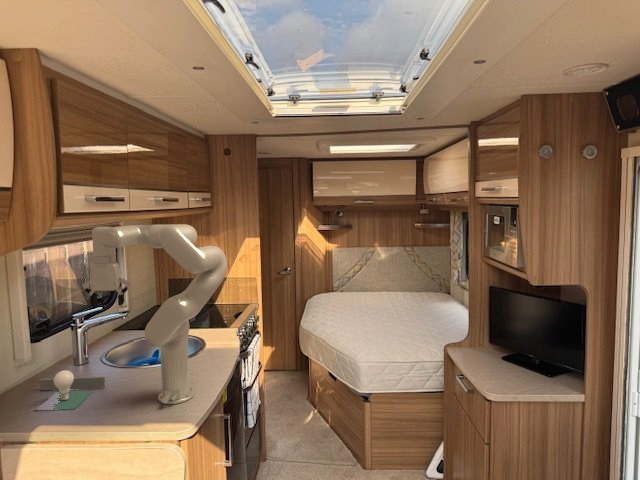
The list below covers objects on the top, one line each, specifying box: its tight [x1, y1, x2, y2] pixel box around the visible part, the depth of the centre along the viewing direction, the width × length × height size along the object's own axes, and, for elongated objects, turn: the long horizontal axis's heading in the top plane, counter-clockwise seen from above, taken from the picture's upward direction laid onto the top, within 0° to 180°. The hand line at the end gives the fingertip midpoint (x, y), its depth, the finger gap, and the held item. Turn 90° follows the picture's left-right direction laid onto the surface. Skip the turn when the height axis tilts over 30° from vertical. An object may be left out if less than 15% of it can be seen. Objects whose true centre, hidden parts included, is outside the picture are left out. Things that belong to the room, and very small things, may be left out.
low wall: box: [38, 376, 107, 391], centre depth 166 cm, size 1×24×4 cm, turn 93°
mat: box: [33, 390, 94, 411], centre depth 156 cm, size 14×14×1 cm
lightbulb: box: [53, 369, 75, 401], centre depth 156 cm, size 6×6×11 cm
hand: (108, 304), depth 162 cm, fingers open, 9 cm apart
